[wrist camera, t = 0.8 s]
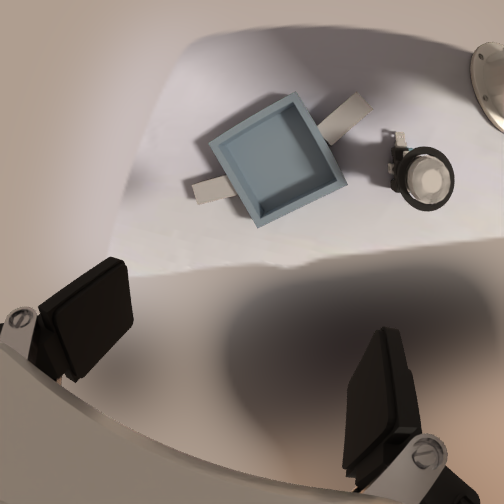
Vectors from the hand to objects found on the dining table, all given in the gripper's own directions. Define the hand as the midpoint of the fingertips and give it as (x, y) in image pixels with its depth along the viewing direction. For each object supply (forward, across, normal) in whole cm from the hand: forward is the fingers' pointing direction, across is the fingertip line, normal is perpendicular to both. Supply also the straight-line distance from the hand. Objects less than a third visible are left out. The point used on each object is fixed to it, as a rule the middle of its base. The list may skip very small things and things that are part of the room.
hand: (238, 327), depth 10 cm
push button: (+24, -10, -6) cm, 27 cm away
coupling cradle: (+24, +3, -3) cm, 24 cm away
